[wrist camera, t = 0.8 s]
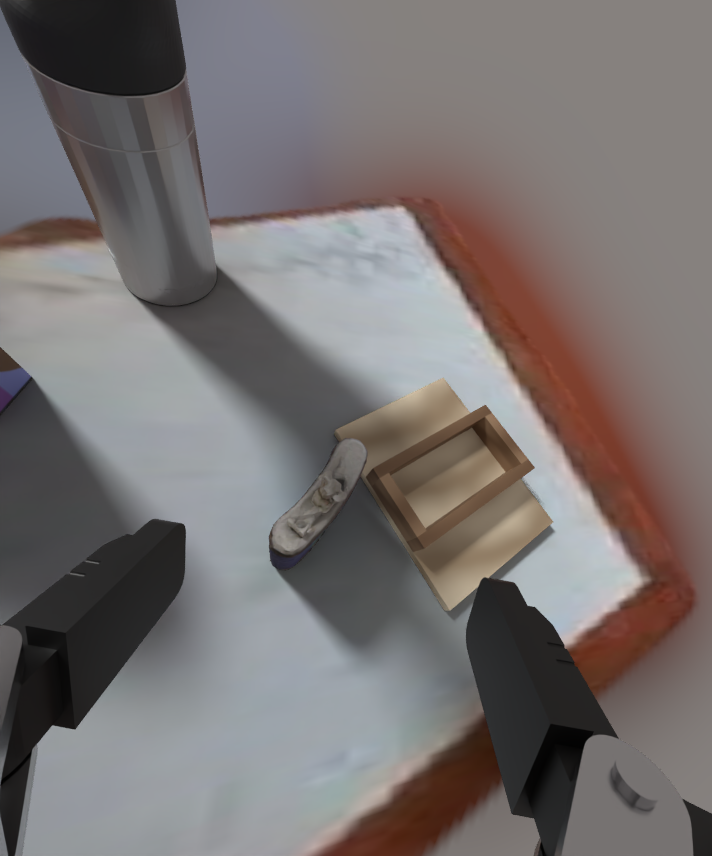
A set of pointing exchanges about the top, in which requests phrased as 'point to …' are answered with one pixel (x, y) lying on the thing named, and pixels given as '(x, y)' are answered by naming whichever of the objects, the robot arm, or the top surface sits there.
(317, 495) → the flask
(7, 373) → the cereal box
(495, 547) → the slot board
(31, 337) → the top surface
